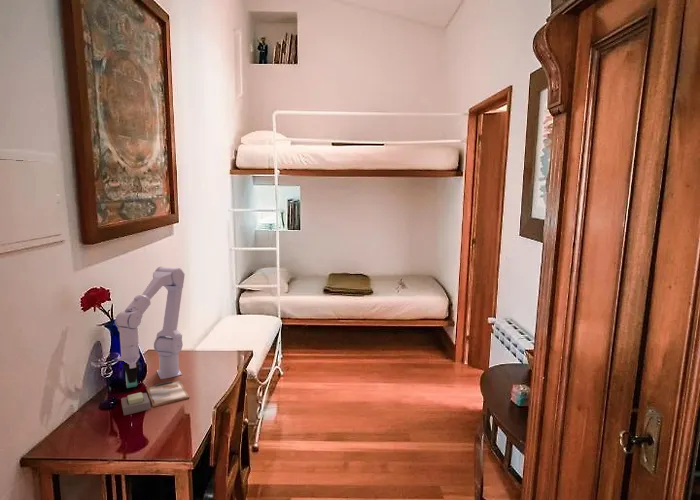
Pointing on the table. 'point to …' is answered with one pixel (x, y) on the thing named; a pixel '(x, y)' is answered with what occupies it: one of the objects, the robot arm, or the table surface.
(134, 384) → the teal rimmed box
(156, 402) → the clipboard
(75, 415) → the table surface
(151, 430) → the table surface
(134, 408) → the button housing
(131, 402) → the button
